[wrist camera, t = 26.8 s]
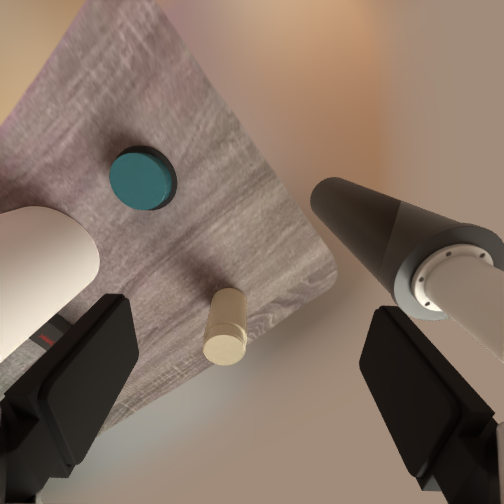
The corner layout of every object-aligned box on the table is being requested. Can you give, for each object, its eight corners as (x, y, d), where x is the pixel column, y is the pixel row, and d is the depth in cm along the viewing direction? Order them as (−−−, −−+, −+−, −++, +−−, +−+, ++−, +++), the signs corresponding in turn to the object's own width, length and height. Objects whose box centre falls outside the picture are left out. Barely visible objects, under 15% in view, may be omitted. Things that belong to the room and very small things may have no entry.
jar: (246, 287, 38) (246, 332, 29) (247, 316, 41) (247, 366, 32) (210, 288, 38) (198, 333, 29) (212, 317, 41) (203, 367, 32)
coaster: (174, 147, 30) (173, 147, 30) (179, 211, 33) (178, 211, 33) (108, 143, 30) (106, 143, 29) (119, 208, 33) (118, 209, 33)
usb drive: (78, 357, 44) (68, 370, 41) (19, 314, 40) (3, 326, 37) (98, 344, 43) (89, 357, 40) (38, 299, 39) (23, 310, 36)
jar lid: (166, 212, 33) (160, 217, 31) (116, 197, 32) (106, 201, 30) (176, 162, 30) (171, 164, 28) (121, 144, 29) (112, 144, 27)
